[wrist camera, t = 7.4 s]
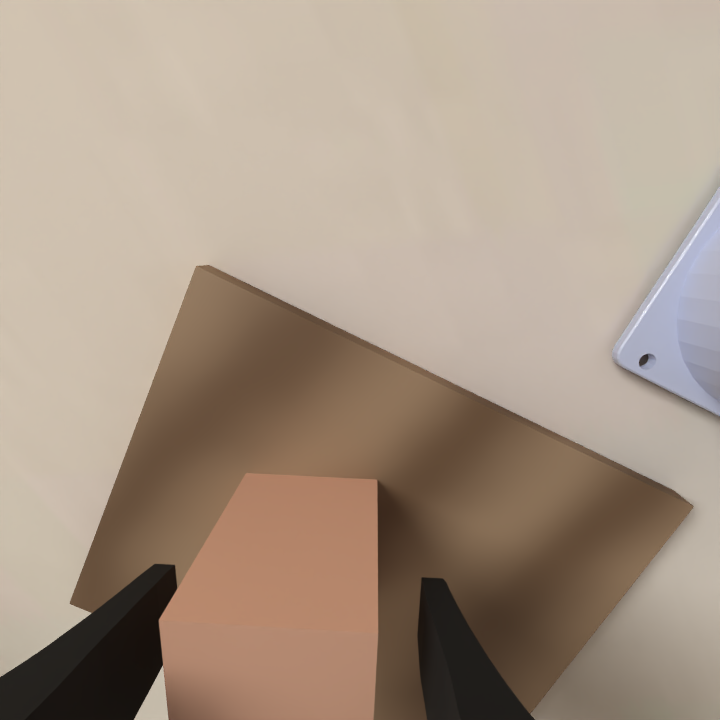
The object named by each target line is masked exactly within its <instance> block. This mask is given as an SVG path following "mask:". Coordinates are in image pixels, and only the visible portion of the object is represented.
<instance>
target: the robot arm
mask: <svg viewBox="0 0 720 720" xmlns="http://www.w3.org/2000/svg"><path fill="white" fill-rule="evenodd" d="M645 354H648V361H647V363H645V364H644V365H643V366H639V360H640V358H641V357H642V356H643V355H645ZM612 358H613V360H614V362H615V363H616V364H617V365H619V366H620V367H622V368H624V369H626V370H628V371H630V372H632V373H634V374H636V375H638V376H640V377H642V378H644V379H646V380H648V381H650V382H652V383H654V384H656V385H658V386H660V387H662V388H664V389H666V390H668V391H670V392H672V393H674V394H676V395H678V396H680V397H682V398H684V399H686V400H688V401H690V402H692V403H694V404H696V405H698V406H700V407H702V408H704V409H706V410H708V411H710V412H712V413H714V414H716V415H717V416H719V417H720V187H719V188H718V190H717V191H716V193H715V194H714V196H713V197H712V199H711V200H710V202H709V203H708V205H707V206H706V208H705V210H704V211H703V213H702V214H701V216H700V217H699V219H698V220H697V222H696V223H695V225H694V226H693V228H692V229H691V231H690V232H689V234H688V235H687V237H686V238H685V240H684V241H683V243H682V244H681V246H680V247H679V249H678V250H677V252H676V253H675V255H674V256H673V258H672V260H671V261H670V263H669V264H668V266H667V267H666V269H665V270H664V272H663V273H662V275H661V276H660V278H659V279H658V281H657V282H656V284H655V285H654V287H653V288H652V290H651V291H650V293H649V294H648V296H647V297H646V299H645V300H644V302H643V303H642V305H641V307H640V308H639V310H638V311H637V313H636V314H635V316H634V317H633V319H632V320H631V322H630V323H629V325H628V326H627V328H626V329H625V331H624V332H623V334H622V335H621V337H620V338H619V340H618V341H617V343H616V344H615V346H614V348H613V351H612ZM176 590H177V579H176V569H175V565H171V564H154V565H152V566H151V567H150V568H148V569H147V570H146V571H145V572H143V573H142V574H141V575H140V576H138V577H137V578H136V579H135V580H133V581H132V582H131V583H130V584H128V585H127V586H126V587H125V588H123V589H122V590H121V591H120V592H118V593H117V594H116V595H115V596H113V597H112V598H111V599H109V600H108V601H107V602H106V603H104V604H103V605H102V606H101V607H99V608H98V609H97V610H95V611H94V612H93V613H92V614H90V615H89V616H88V617H86V618H85V619H84V620H82V621H81V622H80V623H78V624H77V625H76V626H74V627H73V628H71V629H70V630H69V631H67V632H66V633H65V634H63V635H62V636H61V637H59V638H58V639H56V640H55V641H54V642H52V643H51V644H50V645H48V646H47V647H45V648H44V649H42V650H41V651H40V652H38V653H37V654H35V655H34V656H32V657H31V658H29V659H28V660H26V661H25V662H23V663H22V664H20V665H19V666H17V667H15V668H14V669H12V670H11V671H9V672H8V673H6V674H4V675H3V676H1V677H0V720H134V718H135V716H136V714H137V713H138V711H139V709H140V707H141V705H142V703H143V701H144V700H145V698H146V696H147V694H148V692H149V690H150V688H151V687H152V685H153V683H154V681H155V679H156V677H157V675H158V673H159V671H160V669H161V668H162V666H163V658H162V648H161V638H160V628H159V619H160V617H161V616H162V614H163V612H164V611H165V609H166V607H167V605H168V604H169V602H170V600H171V599H172V597H173V595H174V594H175V592H176ZM417 638H418V653H419V667H420V678H421V685H422V691H423V697H424V703H425V710H426V716H427V720H535V719H534V718H533V717H532V716H531V715H530V713H529V712H528V711H527V710H526V708H525V707H524V706H523V704H522V703H521V702H520V701H519V699H518V698H517V697H516V695H515V694H514V693H513V691H512V690H511V689H510V687H509V686H508V685H507V683H506V682H505V680H504V679H503V678H502V676H501V675H500V673H499V672H498V670H497V669H496V667H495V666H494V665H493V663H492V662H491V660H490V659H489V657H488V656H487V654H486V652H485V651H484V649H483V648H482V646H481V645H480V643H479V641H478V640H477V638H476V636H475V635H474V633H473V632H472V630H471V628H470V627H469V625H468V623H467V621H466V620H465V618H464V616H463V614H462V612H461V611H460V609H459V607H458V605H457V603H456V601H455V599H454V597H453V595H452V593H451V591H450V589H449V587H448V585H447V582H446V581H445V580H444V579H443V578H426V577H421V591H420V605H419V619H418V632H417Z"/></svg>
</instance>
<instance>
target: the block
mask: <svg viewBox="0 0 720 720" xmlns="http://www.w3.org/2000/svg"><path fill="white" fill-rule="evenodd" d="M159 628H160V638H161V648H162V658H163V668H164V678H165V687H166V697H167V707H168V717H169V720H374V702H375V684H376V665H377V647H378V502H377V480H376V479H356V478H336V477H316V476H296V475H275V474H255V473H246V474H245V476H244V478H243V479H242V481H241V483H240V484H239V486H238V488H237V489H236V491H235V493H234V494H233V496H232V498H231V499H230V501H229V503H228V504H227V506H226V508H225V510H224V511H223V513H222V515H221V516H220V518H219V520H218V521H217V523H216V525H215V526H214V528H213V530H212V531H211V533H210V535H209V536H208V538H207V540H206V542H205V543H204V545H203V547H202V548H201V550H200V552H199V553H198V555H197V557H196V558H195V560H194V562H193V563H192V565H191V567H190V568H189V570H188V572H187V573H186V575H185V577H184V579H183V580H182V582H181V584H180V585H179V587H178V589H177V590H176V592H175V594H174V595H173V597H172V599H171V600H170V602H169V604H168V605H167V607H166V609H165V611H164V612H163V614H162V616H161V617H160V619H159Z"/></svg>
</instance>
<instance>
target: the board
mask: <svg viewBox="0 0 720 720" xmlns="http://www.w3.org/2000/svg"><path fill="white" fill-rule="evenodd" d="M246 473H255V474H275V475H296V476H316V477H336V478H356V479H376V480H377V502H378V647H377V665H376V684H375V702H374V720H427V716H426V710H425V703H424V697H423V691H422V685H421V678H420V667H419V653H418V638H417V632H418V619H419V605H420V591H421V577H426V578H443V579H444V580H445V581H446V582H447V585H448V587H449V589H450V591H451V593H452V595H453V597H454V599H455V601H456V603H457V605H458V607H459V609H460V611H461V612H462V614H463V616H464V618H465V620H466V621H467V623H468V625H469V627H470V628H471V630H472V632H473V633H474V635H475V636H476V638H477V640H478V641H479V643H480V645H481V646H482V648H483V649H484V651H485V652H486V654H487V656H488V657H489V659H490V660H491V662H492V663H493V665H494V666H495V667H496V669H497V670H498V672H499V673H500V675H501V676H502V678H503V679H504V680H505V682H506V683H507V685H508V686H509V687H510V689H511V690H512V691H513V693H514V694H515V695H516V697H517V698H518V699H519V701H520V702H521V703H522V704H523V706H524V707H525V708H526V710H527V711H528V712H529V713H531V712H532V711H533V709H534V708H535V707H536V706H537V704H538V703H539V702H540V701H541V699H542V698H543V697H544V696H545V694H546V693H547V692H548V690H549V689H550V688H551V687H552V685H553V684H554V683H555V682H556V680H557V679H558V678H559V677H560V675H561V674H562V673H563V671H564V670H565V669H566V668H567V666H568V665H569V664H570V663H571V661H572V660H573V659H574V658H575V656H576V655H577V654H578V653H579V651H580V650H581V649H582V647H583V646H584V645H585V644H586V642H587V641H588V640H589V639H590V637H591V636H592V635H593V634H594V632H595V631H596V630H597V628H598V627H599V626H600V625H601V623H602V622H603V621H604V620H605V618H606V617H607V616H608V615H609V613H610V612H611V611H612V610H613V608H614V607H615V606H616V604H617V603H618V602H619V601H620V599H621V598H622V597H623V596H624V594H625V593H626V592H627V591H628V589H629V588H630V587H631V585H632V584H633V583H634V582H635V580H636V579H637V578H638V577H639V575H640V574H641V573H642V572H643V570H644V569H645V568H646V567H647V565H648V564H649V563H650V561H651V560H652V559H653V558H654V556H655V555H656V554H657V553H658V551H659V550H660V549H661V548H662V546H663V545H664V544H665V542H666V541H667V540H668V539H669V537H670V536H671V535H672V534H673V532H674V531H675V530H676V529H677V527H678V526H679V525H680V524H681V522H682V521H683V520H684V518H685V517H686V516H687V515H688V513H689V512H690V511H691V510H692V508H693V507H694V506H693V505H691V504H690V503H689V502H687V501H686V500H685V499H684V498H682V497H681V496H680V495H679V494H677V493H676V492H675V491H674V490H672V489H670V488H667V487H665V486H663V485H661V484H659V483H657V482H655V481H653V480H651V479H649V478H647V477H645V476H643V475H641V474H639V473H637V472H634V471H632V470H630V469H628V468H626V467H624V466H622V465H620V464H618V463H616V462H614V461H612V460H610V459H608V458H606V457H604V456H601V455H599V454H597V453H595V452H593V451H591V450H589V449H587V448H585V447H583V446H581V445H579V444H577V443H575V442H573V441H571V440H568V439H566V438H564V437H562V436H560V435H558V434H556V433H554V432H552V431H550V430H548V429H546V428H544V427H542V426H540V425H538V424H535V423H533V422H531V421H529V420H527V419H525V418H523V417H521V416H519V415H517V414H515V413H513V412H511V411H509V410H507V409H505V408H502V407H500V406H498V405H496V404H494V403H492V402H490V401H488V400H486V399H484V398H482V397H480V396H478V395H476V394H474V393H472V392H469V391H467V390H465V389H463V388H461V387H459V386H457V385H455V384H453V383H451V382H449V381H447V380H445V379H443V378H441V377H439V376H436V375H434V374H432V373H430V372H428V371H426V370H424V369H422V368H420V367H418V366H416V365H414V364H412V363H410V362H408V361H405V360H403V359H401V358H399V357H397V356H395V355H393V354H391V353H389V352H387V351H385V350H383V349H381V348H379V347H377V346H375V345H372V344H370V343H368V342H366V341H364V340H362V339H360V338H358V337H356V336H354V335H352V334H350V333H348V332H346V331H344V330H342V329H339V328H337V327H335V326H333V325H331V324H329V323H327V322H325V321H323V320H321V319H319V318H317V317H315V316H313V315H311V314H309V313H306V312H304V311H302V310H300V309H298V308H296V307H294V306H292V305H290V304H288V303H286V302H284V301H282V300H280V299H278V298H276V297H273V296H271V295H269V294H267V293H265V292H263V291H261V290H259V289H257V288H255V287H253V286H251V285H249V284H247V283H245V282H243V281H240V280H238V279H236V278H234V277H232V276H230V275H228V274H226V273H224V272H222V271H220V270H218V269H216V268H214V267H212V266H210V265H204V266H196V268H195V271H194V273H193V276H192V279H191V281H190V284H189V286H188V289H187V292H186V294H185V297H184V300H183V302H182V305H181V308H180V310H179V313H178V316H177V318H176V321H175V324H174V326H173V329H172V332H171V334H170V337H169V340H168V342H167V345H166V348H165V350H164V353H163V356H162V358H161V361H160V364H159V366H158V369H157V372H156V374H155V377H154V380H153V382H152V385H151V388H150V390H149V393H148V396H147V398H146V401H145V404H144V406H143V409H142V412H141V414H140V417H139V420H138V422H137V425H136V428H135V430H134V433H133V436H132V438H131V441H130V444H129V446H128V449H127V452H126V454H125V457H124V460H123V462H122V465H121V468H120V470H119V473H118V476H117V478H116V481H115V484H114V486H113V489H112V492H111V494H110V497H109V500H108V502H107V505H106V508H105V510H104V513H103V516H102V518H101V521H100V524H99V526H98V529H97V532H96V534H95V537H94V540H93V542H92V545H91V548H90V550H89V553H88V556H87V558H86V561H85V564H84V566H83V569H82V572H81V574H80V577H79V580H78V582H77V585H76V588H75V590H74V593H73V596H72V598H71V601H70V604H71V605H74V606H76V607H79V608H81V609H84V610H86V611H89V612H91V613H93V612H94V611H95V610H97V609H98V608H99V607H101V606H102V605H103V604H104V603H106V602H107V601H108V600H109V599H111V598H112V597H113V596H115V595H116V594H117V593H118V592H120V591H121V590H122V589H123V588H125V587H126V586H127V585H128V584H130V583H131V582H132V581H133V580H135V579H136V578H137V577H138V576H140V575H141V574H142V573H143V572H145V571H146V570H147V569H148V568H150V567H151V566H152V565H154V564H171V565H175V569H176V579H177V589H178V587H179V585H180V584H181V582H182V580H183V579H184V577H185V575H186V573H187V572H188V570H189V568H190V567H191V565H192V563H193V562H194V560H195V558H196V557H197V555H198V553H199V552H200V550H201V548H202V547H203V545H204V543H205V542H206V540H207V538H208V536H209V535H210V533H211V531H212V530H213V528H214V526H215V525H216V523H217V521H218V520H219V518H220V516H221V515H222V513H223V511H224V510H225V508H226V506H227V504H228V503H229V501H230V499H231V498H232V496H233V494H234V493H235V491H236V489H237V488H238V486H239V484H240V483H241V481H242V479H243V478H244V476H245V474H246Z"/></svg>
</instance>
